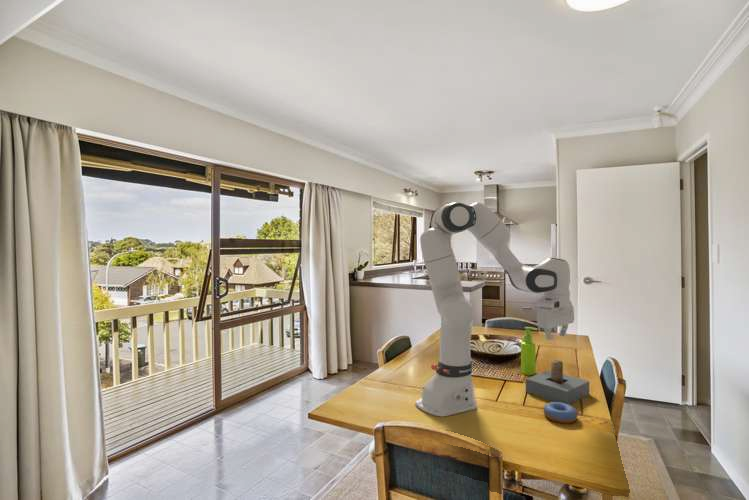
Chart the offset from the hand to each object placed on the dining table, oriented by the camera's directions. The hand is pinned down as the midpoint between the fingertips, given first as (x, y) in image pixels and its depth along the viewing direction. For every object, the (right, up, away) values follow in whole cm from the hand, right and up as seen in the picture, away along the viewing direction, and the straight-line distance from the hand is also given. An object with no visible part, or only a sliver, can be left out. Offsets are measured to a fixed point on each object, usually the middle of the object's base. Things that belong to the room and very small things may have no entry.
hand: (556, 337), depth 145 cm
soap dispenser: (-1, -21, +23) cm, 31 cm away
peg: (+1, -21, 0) cm, 21 cm away
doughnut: (-8, -22, -19) cm, 30 cm away
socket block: (+1, -21, 0) cm, 21 cm away
